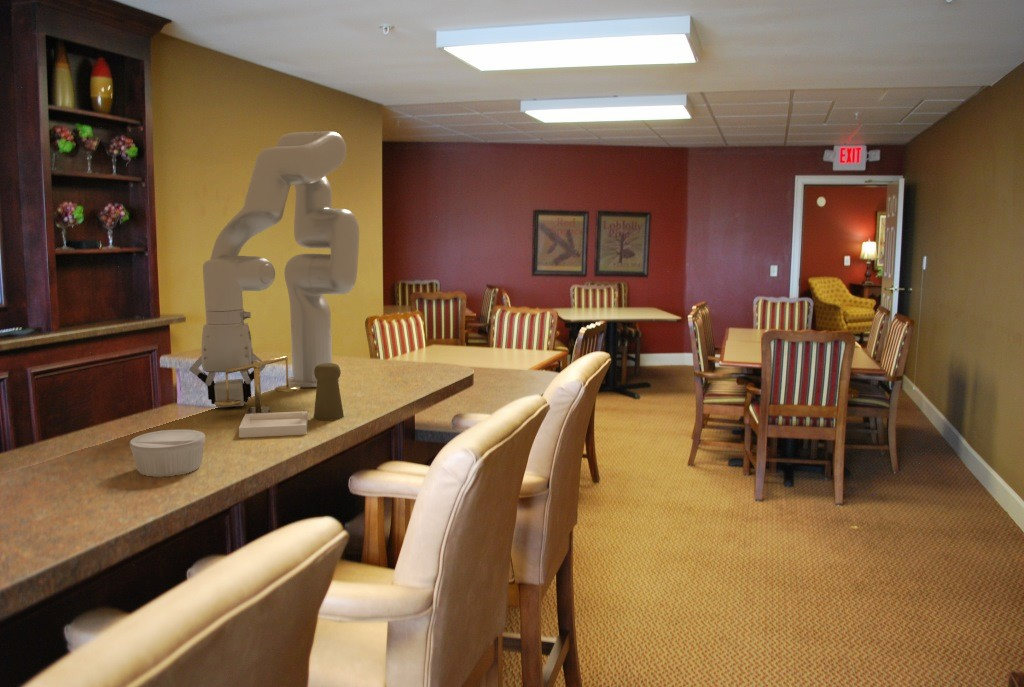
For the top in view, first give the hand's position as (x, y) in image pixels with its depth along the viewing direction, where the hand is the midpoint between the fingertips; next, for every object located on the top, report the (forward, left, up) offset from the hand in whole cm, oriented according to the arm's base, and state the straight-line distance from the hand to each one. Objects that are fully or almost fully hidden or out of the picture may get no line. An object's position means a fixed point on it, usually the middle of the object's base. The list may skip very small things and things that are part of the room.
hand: (230, 401), depth 181 cm
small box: (0, 0, -1) cm, 1 cm away
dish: (+22, +11, -1) cm, 24 cm away
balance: (+10, +7, -1) cm, 12 cm away
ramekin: (+46, -4, -2) cm, 46 cm away
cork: (+14, +21, -2) cm, 25 cm away
